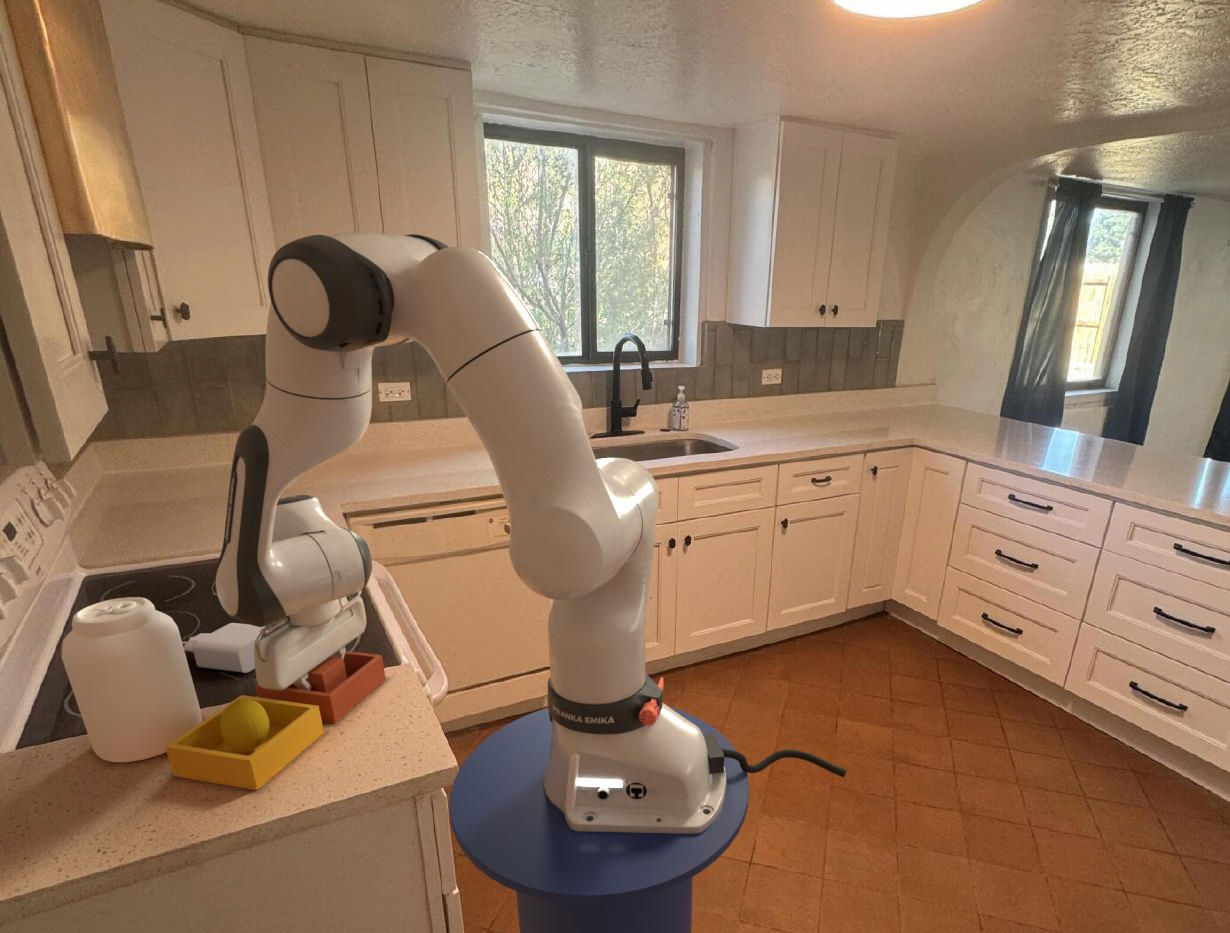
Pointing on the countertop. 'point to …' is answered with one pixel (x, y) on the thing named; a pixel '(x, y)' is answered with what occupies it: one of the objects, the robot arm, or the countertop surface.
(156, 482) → the countertop surface
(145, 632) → the can
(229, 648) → the charger
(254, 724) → the lemon
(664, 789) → the robot arm
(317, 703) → the terracotta bin
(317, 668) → the block
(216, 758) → the yellow bin
